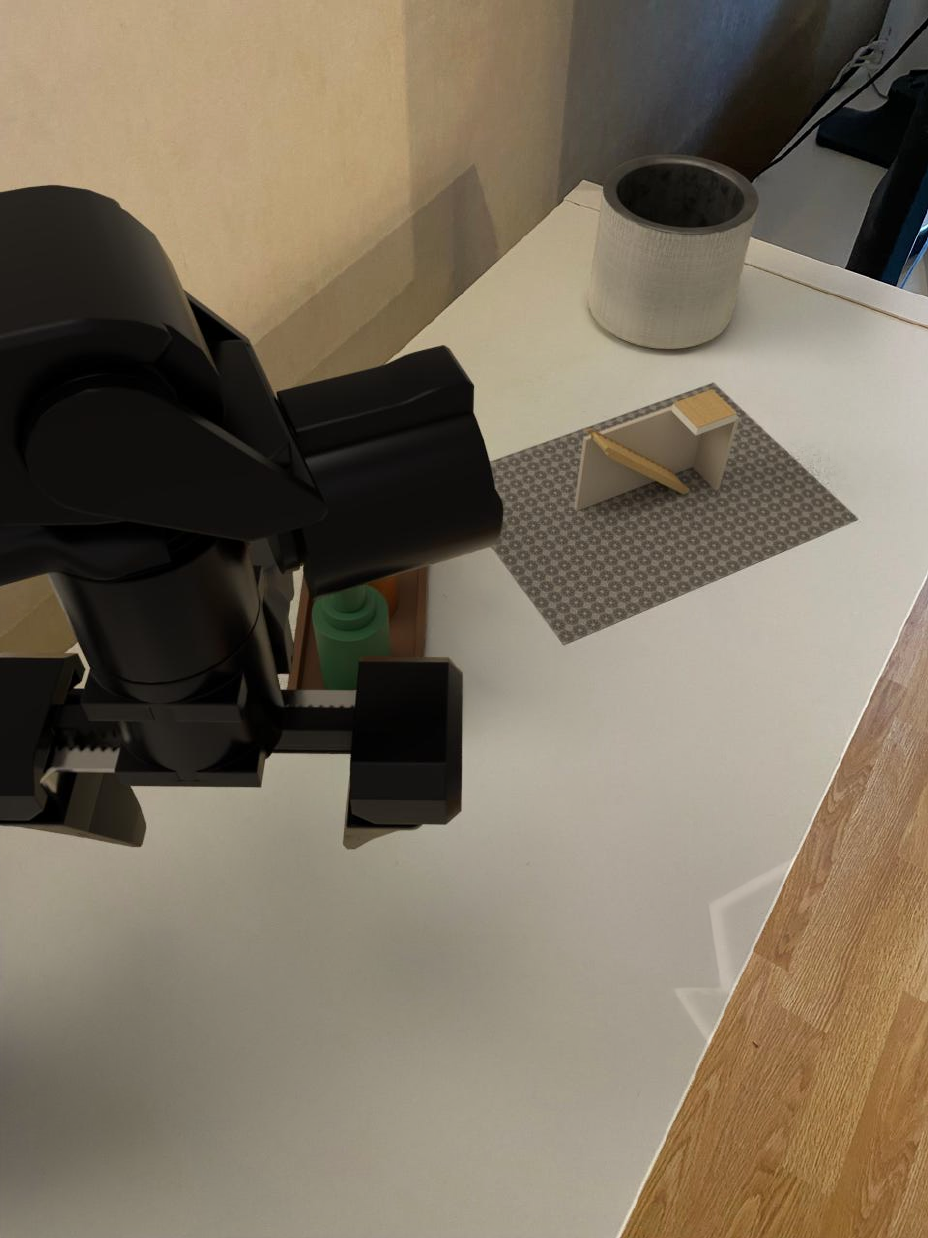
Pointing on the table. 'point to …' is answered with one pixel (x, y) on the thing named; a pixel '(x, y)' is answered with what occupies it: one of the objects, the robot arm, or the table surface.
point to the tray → (403, 625)
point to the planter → (670, 250)
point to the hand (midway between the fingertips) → (246, 837)
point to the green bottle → (350, 633)
